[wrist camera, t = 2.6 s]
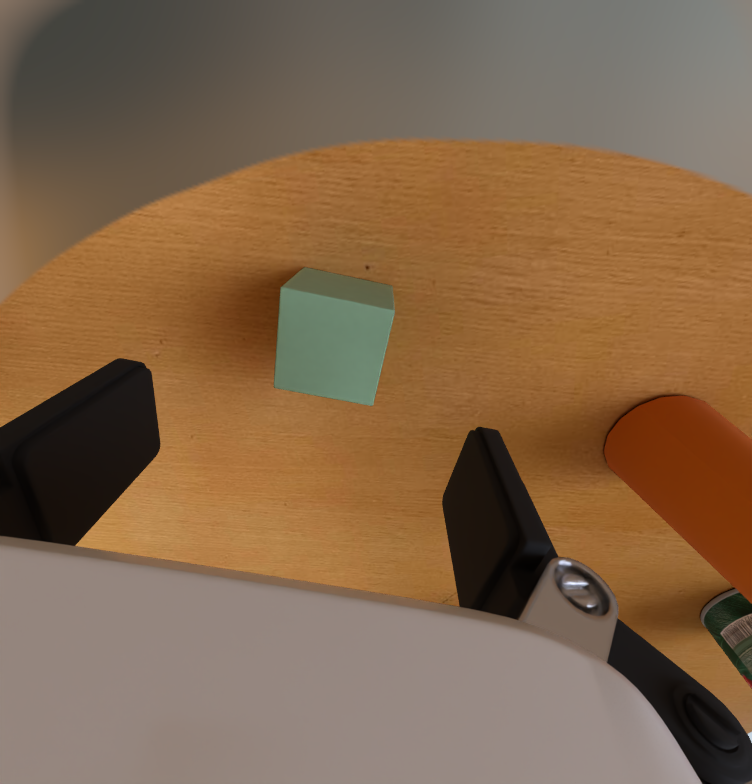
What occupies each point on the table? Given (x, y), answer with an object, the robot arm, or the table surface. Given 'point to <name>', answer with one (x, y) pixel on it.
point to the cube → (332, 335)
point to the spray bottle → (691, 478)
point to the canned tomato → (732, 629)
